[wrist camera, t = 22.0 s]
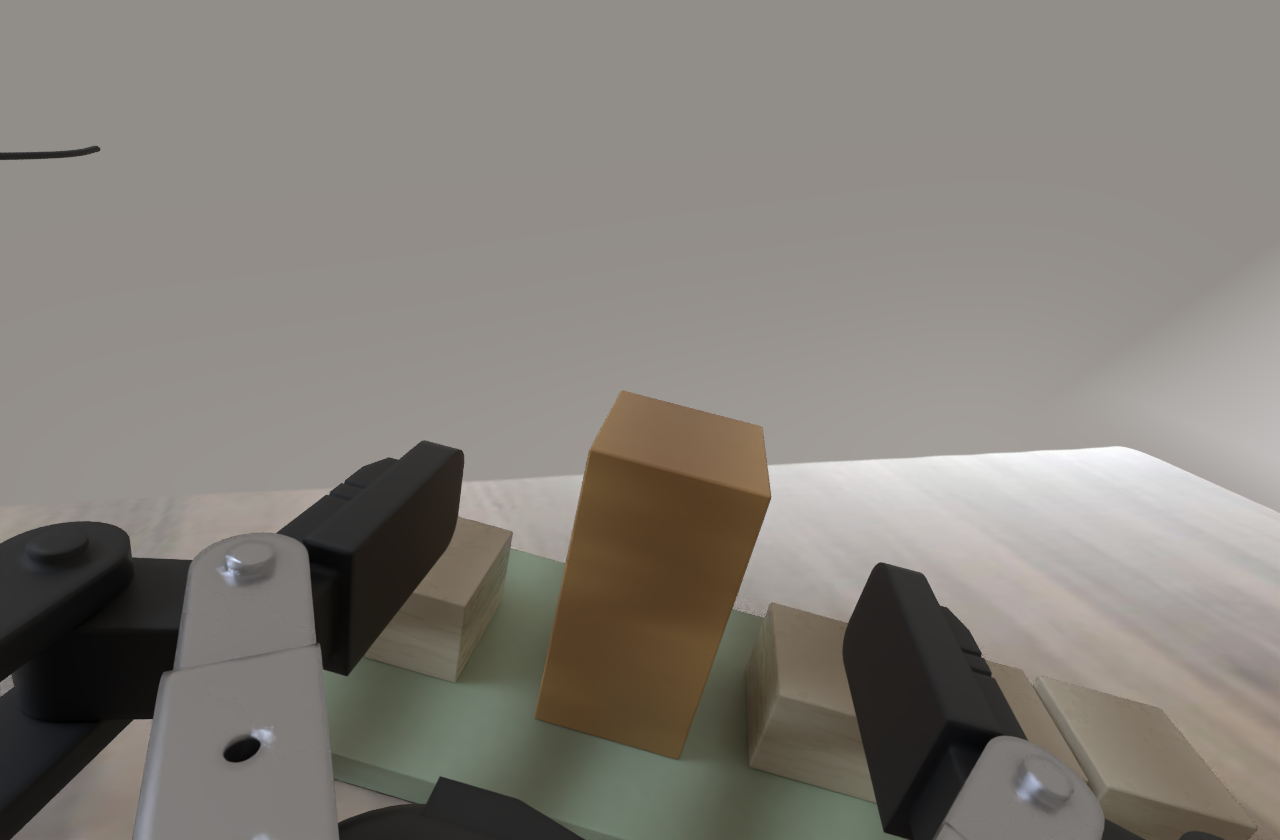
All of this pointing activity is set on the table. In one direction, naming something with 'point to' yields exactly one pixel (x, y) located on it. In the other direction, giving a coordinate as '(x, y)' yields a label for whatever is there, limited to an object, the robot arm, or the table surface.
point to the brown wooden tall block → (652, 571)
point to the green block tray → (697, 724)
